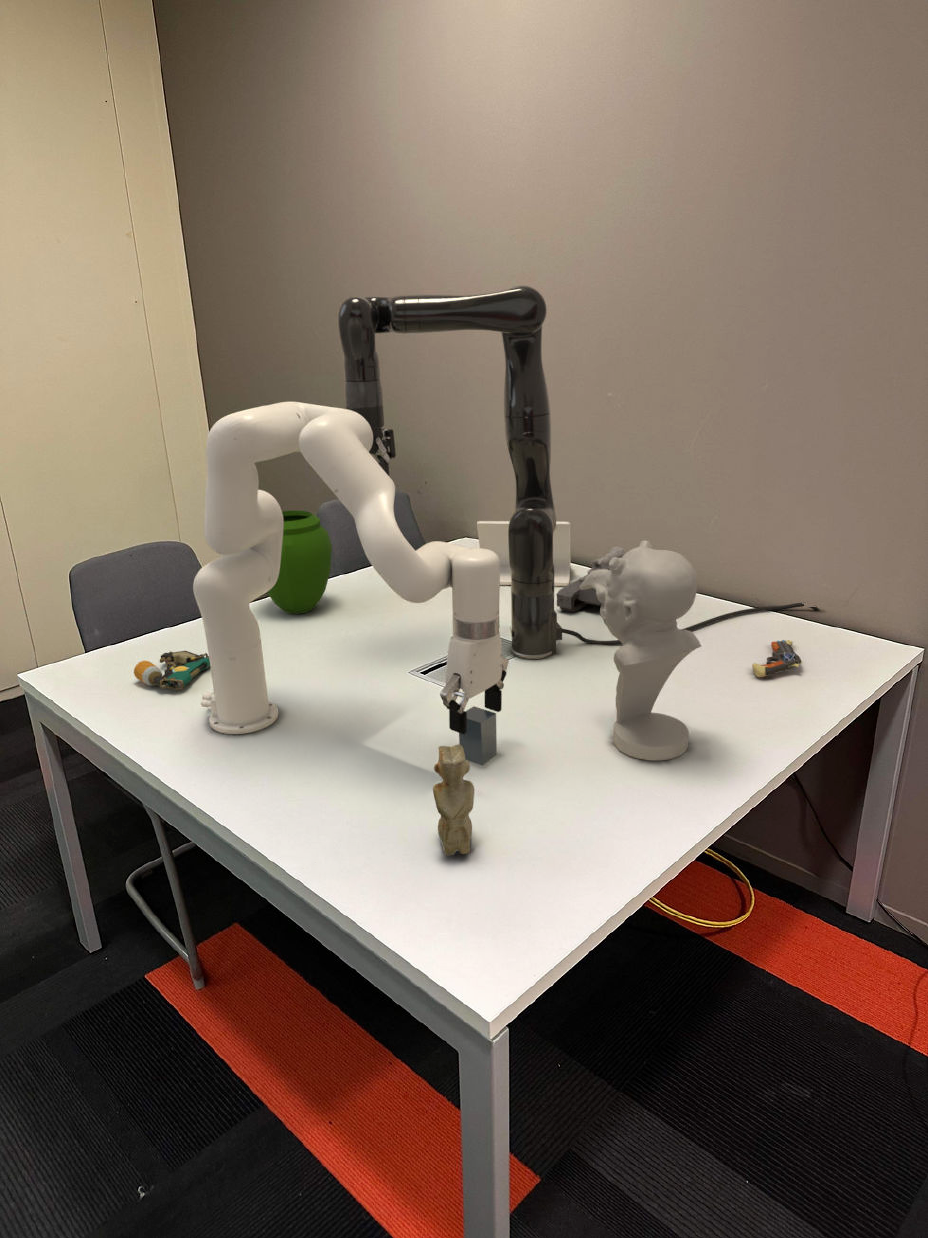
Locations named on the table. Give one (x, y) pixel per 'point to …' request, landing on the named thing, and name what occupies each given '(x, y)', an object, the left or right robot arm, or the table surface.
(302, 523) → the vase
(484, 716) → the brick
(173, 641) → the table surface
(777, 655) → the toy gun
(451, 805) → the sculpture
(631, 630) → the bust sculpture
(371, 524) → the left robot arm
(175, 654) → the spray gun
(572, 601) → the toy
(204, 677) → the table surface
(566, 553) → the tablet stand
